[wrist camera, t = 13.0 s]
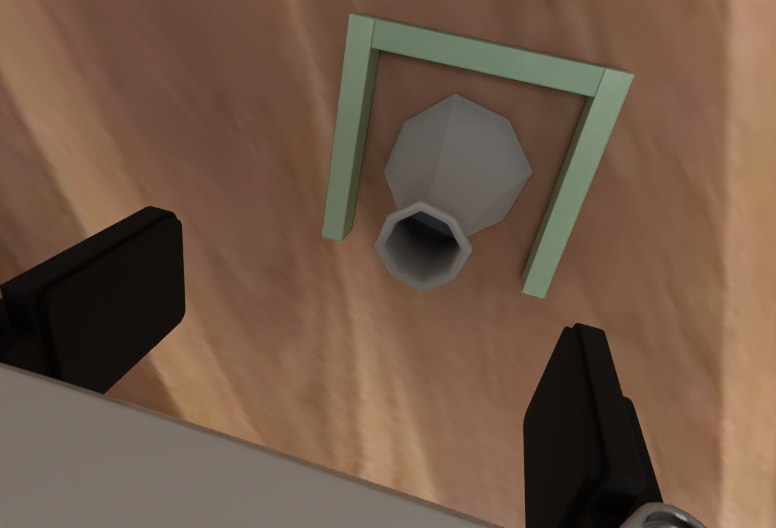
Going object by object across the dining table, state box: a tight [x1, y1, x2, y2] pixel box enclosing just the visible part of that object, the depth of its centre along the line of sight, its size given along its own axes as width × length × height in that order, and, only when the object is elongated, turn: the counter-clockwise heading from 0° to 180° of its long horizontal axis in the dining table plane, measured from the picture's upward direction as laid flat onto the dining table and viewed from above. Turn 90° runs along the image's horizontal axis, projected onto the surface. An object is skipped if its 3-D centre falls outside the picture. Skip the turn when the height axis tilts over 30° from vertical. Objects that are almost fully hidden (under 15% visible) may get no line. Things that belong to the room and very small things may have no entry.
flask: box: [374, 93, 533, 292], centre depth 21 cm, size 7×7×10 cm
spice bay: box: [322, 13, 635, 299], centre depth 24 cm, size 12×11×2 cm
